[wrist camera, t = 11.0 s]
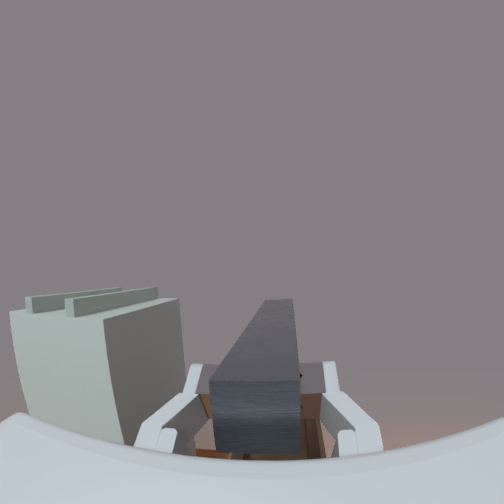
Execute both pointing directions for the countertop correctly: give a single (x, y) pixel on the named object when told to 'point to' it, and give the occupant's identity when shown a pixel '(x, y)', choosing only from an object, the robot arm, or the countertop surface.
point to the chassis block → (308, 445)
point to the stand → (100, 359)
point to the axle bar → (259, 386)
